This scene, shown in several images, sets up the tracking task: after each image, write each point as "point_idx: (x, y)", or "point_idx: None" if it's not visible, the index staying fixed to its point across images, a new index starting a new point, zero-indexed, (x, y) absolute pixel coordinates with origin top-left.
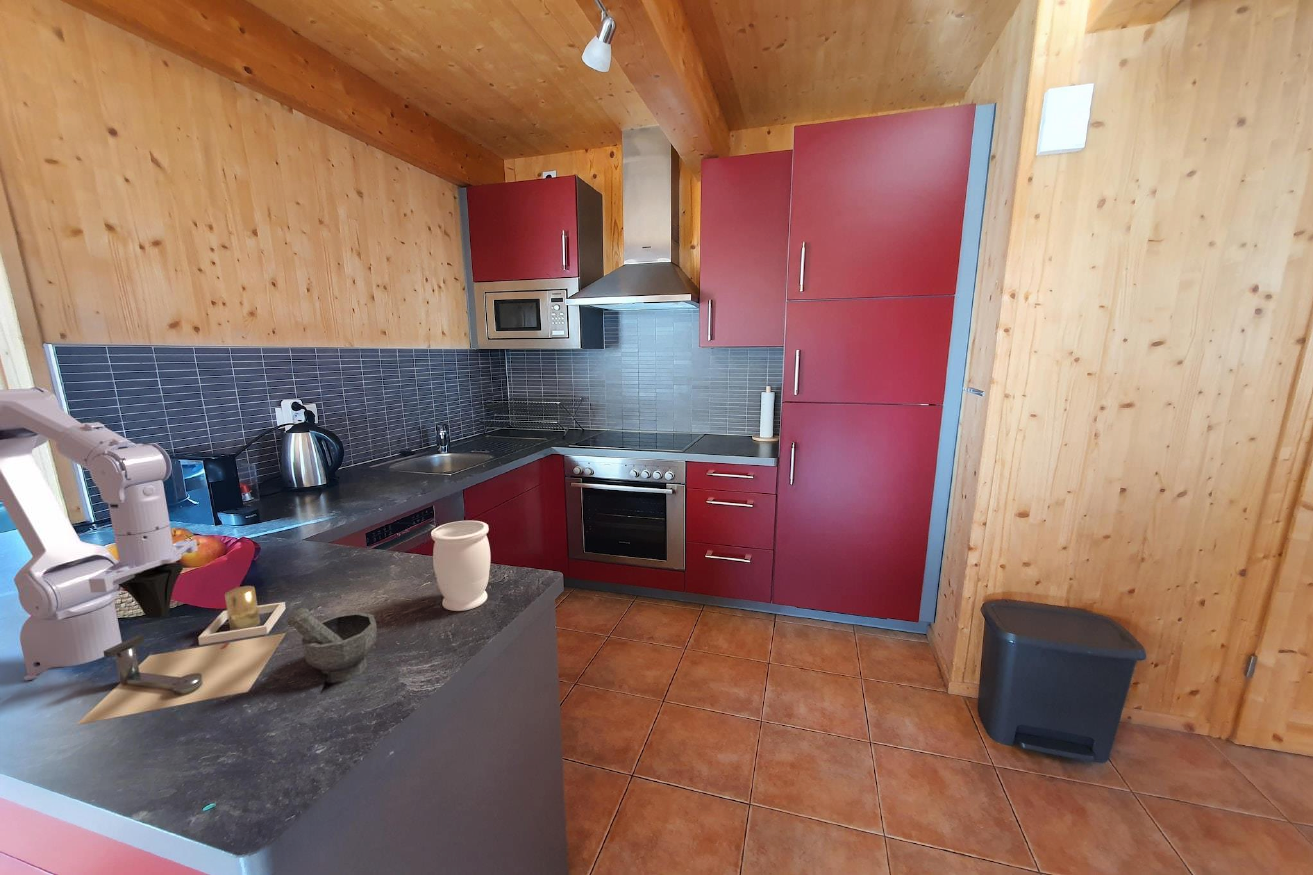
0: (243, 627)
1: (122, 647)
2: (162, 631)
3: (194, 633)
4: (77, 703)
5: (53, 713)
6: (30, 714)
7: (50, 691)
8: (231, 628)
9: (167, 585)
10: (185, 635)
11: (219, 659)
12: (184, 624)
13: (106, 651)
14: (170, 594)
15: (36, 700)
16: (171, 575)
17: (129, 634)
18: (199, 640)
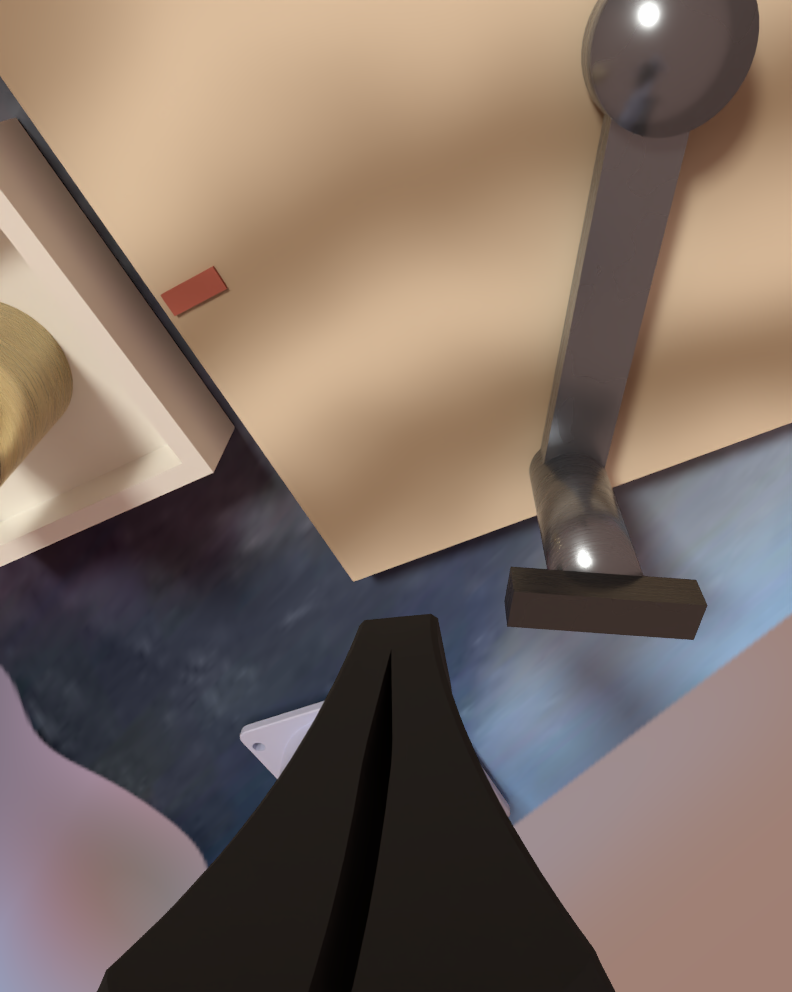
0: (21, 342)
1: (632, 591)
2: (157, 706)
3: (124, 588)
4: (643, 560)
5: (702, 580)
6: (697, 642)
7: (561, 702)
8: (57, 407)
9: (351, 837)
10: (149, 608)
11: (325, 177)
12: (88, 679)
13: (699, 621)
14: (323, 737)
15: (612, 695)
16: (295, 948)
17: (210, 779)
18: (216, 458)
